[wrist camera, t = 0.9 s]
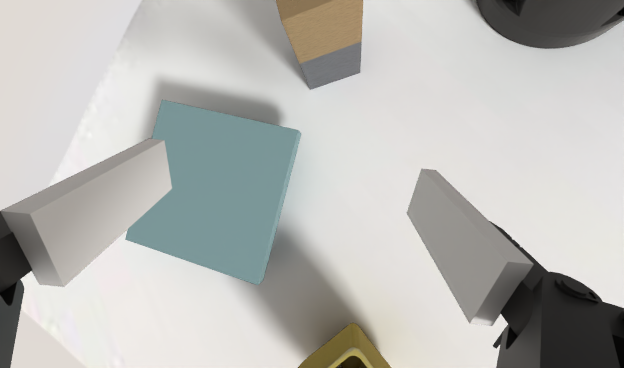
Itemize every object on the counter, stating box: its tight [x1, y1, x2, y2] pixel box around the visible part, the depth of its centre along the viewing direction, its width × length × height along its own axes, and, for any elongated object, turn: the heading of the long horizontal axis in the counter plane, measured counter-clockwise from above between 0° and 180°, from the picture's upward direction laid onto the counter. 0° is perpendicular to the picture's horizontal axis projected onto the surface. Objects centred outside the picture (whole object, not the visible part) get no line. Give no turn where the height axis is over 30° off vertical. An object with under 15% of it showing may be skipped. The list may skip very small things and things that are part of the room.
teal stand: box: [126, 100, 301, 285], centre depth 29 cm, size 16×16×4 cm
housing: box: [276, 0, 363, 90], centre depth 24 cm, size 6×6×12 cm
